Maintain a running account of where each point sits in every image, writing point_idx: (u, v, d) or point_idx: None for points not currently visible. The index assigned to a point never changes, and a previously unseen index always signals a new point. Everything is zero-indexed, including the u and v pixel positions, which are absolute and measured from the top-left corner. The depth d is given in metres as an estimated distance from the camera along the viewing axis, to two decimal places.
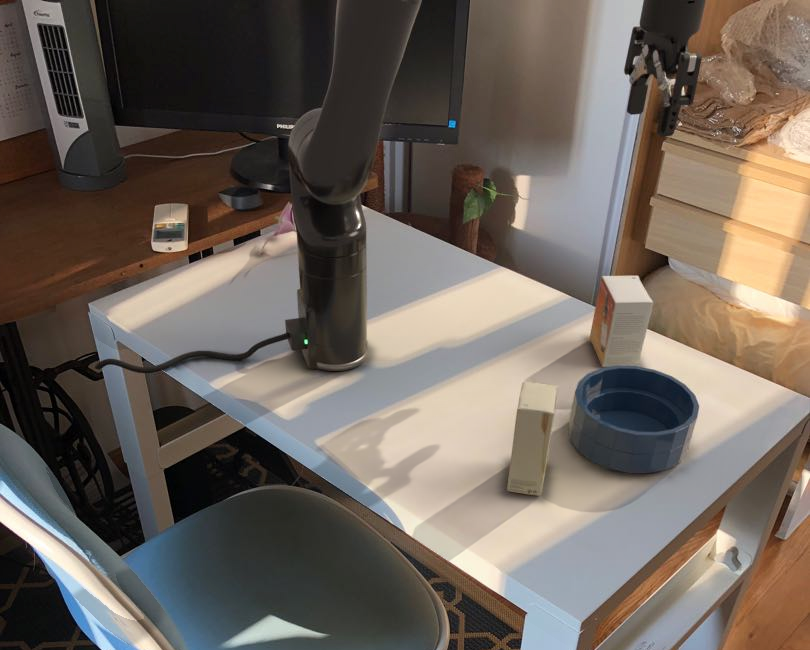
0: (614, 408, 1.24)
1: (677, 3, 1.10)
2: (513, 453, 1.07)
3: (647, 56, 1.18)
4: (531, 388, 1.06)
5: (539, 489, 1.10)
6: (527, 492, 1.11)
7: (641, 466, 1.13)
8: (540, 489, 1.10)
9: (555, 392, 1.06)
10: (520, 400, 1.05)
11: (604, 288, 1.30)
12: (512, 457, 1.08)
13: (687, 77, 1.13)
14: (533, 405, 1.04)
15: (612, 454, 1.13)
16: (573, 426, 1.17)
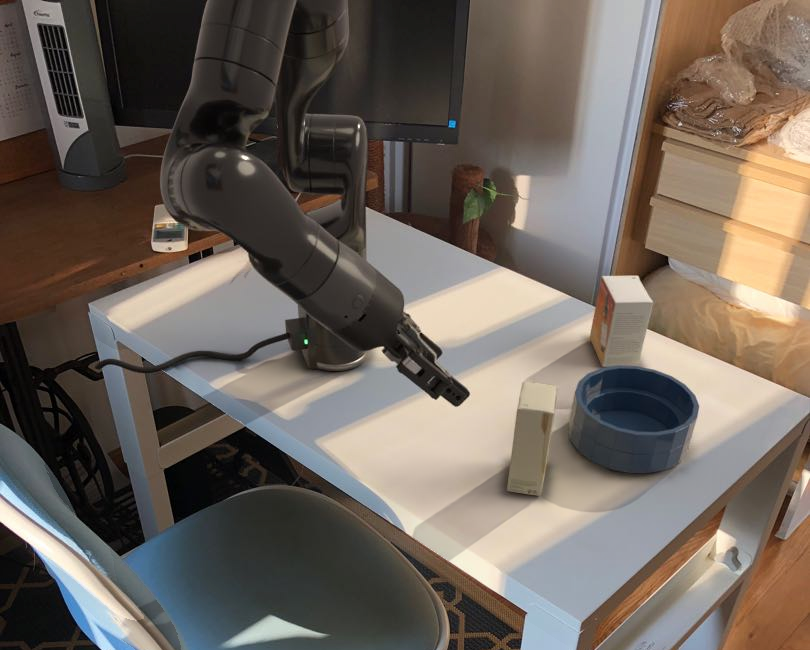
0: (614, 408, 1.24)
1: (350, 329, 0.88)
2: (513, 453, 1.07)
3: None
4: (531, 388, 1.06)
5: (539, 489, 1.10)
6: (527, 492, 1.11)
7: (641, 466, 1.13)
8: (540, 489, 1.10)
9: (555, 392, 1.06)
10: (520, 400, 1.05)
11: (604, 288, 1.30)
12: (512, 457, 1.08)
13: (421, 377, 0.90)
14: (533, 405, 1.04)
15: (612, 454, 1.13)
16: (573, 426, 1.17)
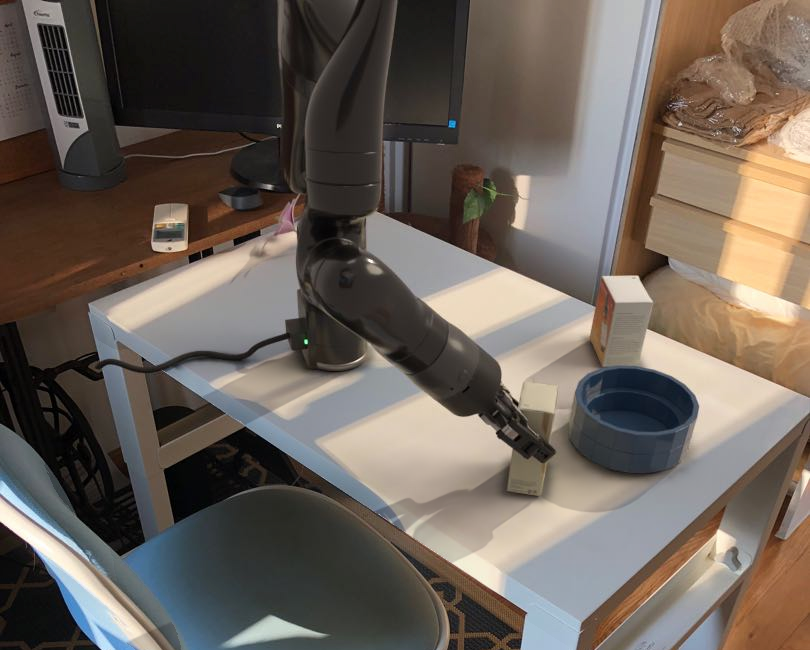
0: (614, 408, 1.24)
1: (454, 399, 0.97)
2: (513, 453, 1.07)
3: None
4: (532, 388, 1.06)
5: (539, 489, 1.10)
6: (527, 492, 1.11)
7: (641, 466, 1.13)
8: (540, 489, 1.10)
9: (556, 392, 1.06)
10: (521, 400, 1.05)
11: (604, 288, 1.30)
12: (512, 457, 1.08)
13: (517, 442, 0.99)
14: (534, 406, 1.04)
15: (612, 454, 1.13)
16: (573, 426, 1.17)
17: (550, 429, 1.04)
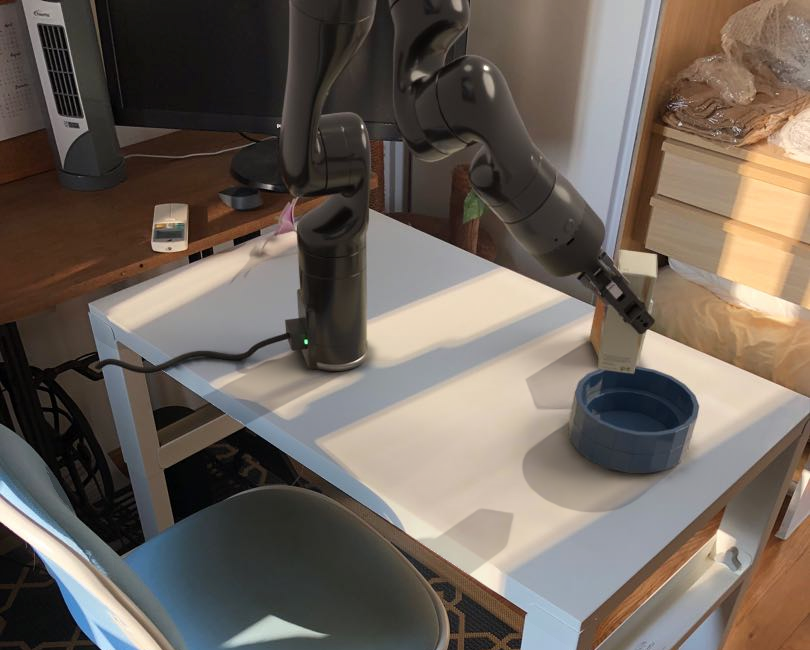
0: (614, 408, 1.24)
1: (557, 253, 0.92)
2: (609, 325, 1.02)
3: (576, 273, 1.00)
4: (630, 255, 1.01)
5: (633, 366, 1.05)
6: (620, 370, 1.06)
7: (641, 466, 1.13)
8: (634, 366, 1.05)
9: (655, 259, 1.01)
10: (619, 265, 0.99)
11: None
12: (607, 329, 1.03)
13: (621, 302, 0.94)
14: (634, 270, 0.99)
15: (612, 454, 1.13)
16: (573, 426, 1.17)
17: (650, 296, 0.99)
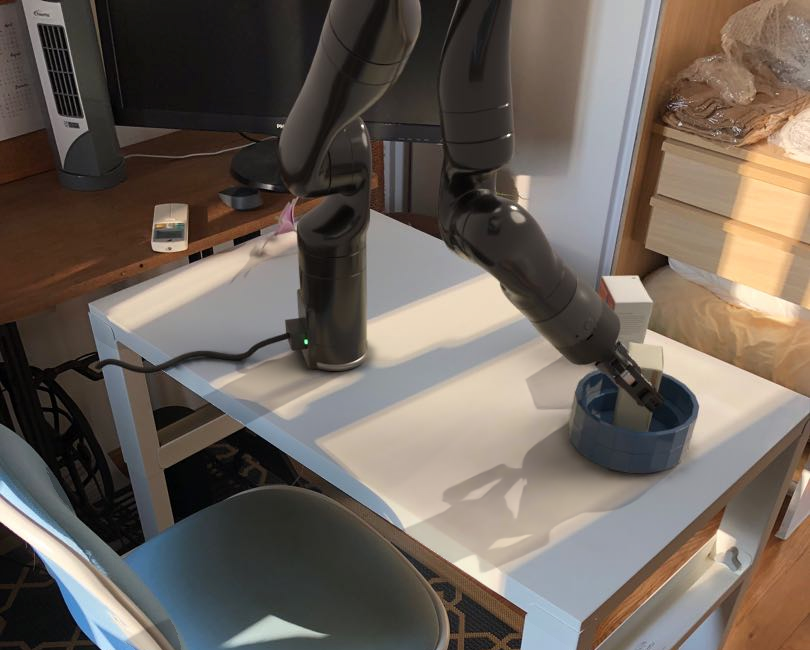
0: (614, 408, 1.24)
1: (578, 346, 1.03)
2: (620, 410, 1.13)
3: None
4: (638, 348, 1.12)
5: None
6: None
7: (641, 466, 1.13)
8: None
9: (661, 352, 1.12)
10: None
11: (604, 288, 1.30)
12: (619, 414, 1.14)
13: (634, 388, 1.05)
14: (642, 364, 1.10)
15: (612, 454, 1.13)
16: (573, 426, 1.17)
17: (657, 386, 1.10)
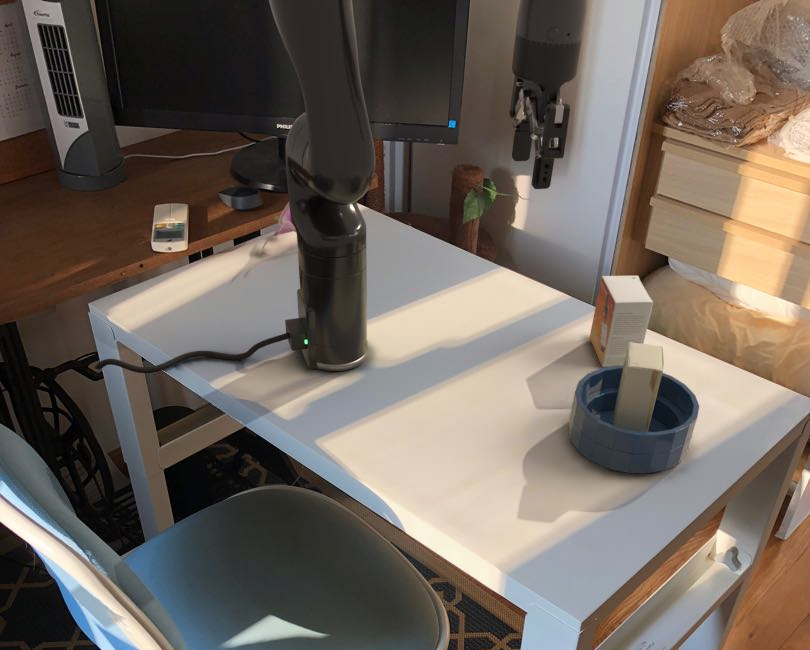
0: (614, 408, 1.24)
1: None
2: (620, 410, 1.13)
3: None
4: (638, 348, 1.12)
5: None
6: None
7: (641, 466, 1.13)
8: None
9: (661, 352, 1.12)
10: (629, 359, 1.11)
11: (604, 288, 1.30)
12: (619, 414, 1.14)
13: None
14: (642, 364, 1.10)
15: (612, 454, 1.13)
16: (573, 426, 1.17)
17: (657, 386, 1.10)
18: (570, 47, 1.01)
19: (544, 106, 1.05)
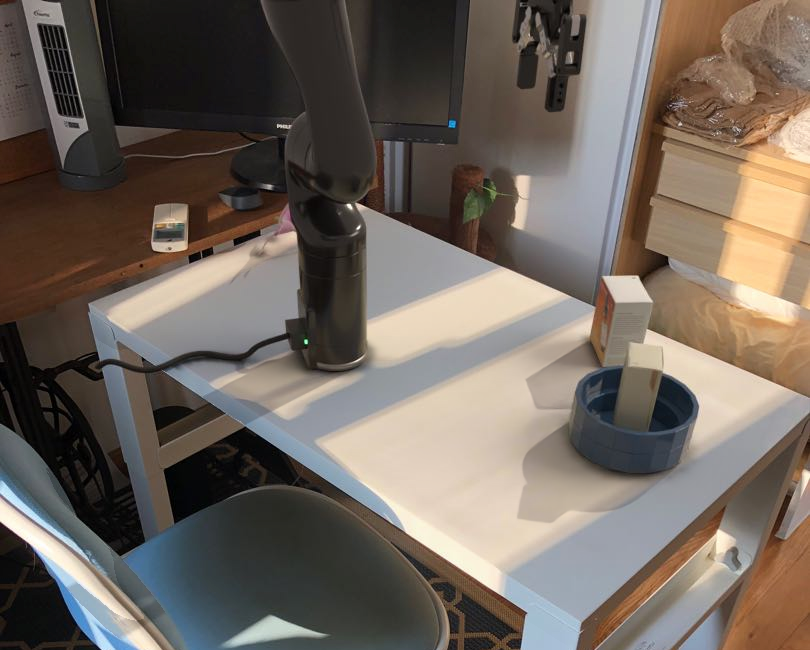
0: (614, 408, 1.24)
1: None
2: (620, 410, 1.13)
3: None
4: (638, 348, 1.12)
5: None
6: None
7: (641, 466, 1.13)
8: None
9: (661, 352, 1.12)
10: (629, 359, 1.11)
11: (604, 288, 1.30)
12: (619, 414, 1.14)
13: None
14: (642, 364, 1.10)
15: (612, 454, 1.13)
16: (573, 426, 1.17)
17: (657, 386, 1.10)
18: None
19: (557, 19, 0.99)
